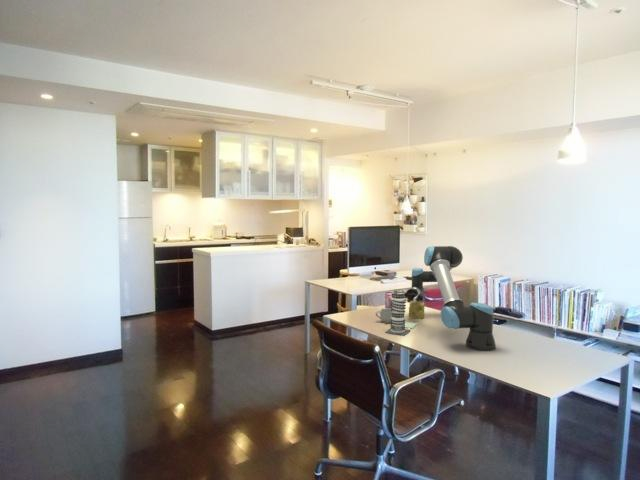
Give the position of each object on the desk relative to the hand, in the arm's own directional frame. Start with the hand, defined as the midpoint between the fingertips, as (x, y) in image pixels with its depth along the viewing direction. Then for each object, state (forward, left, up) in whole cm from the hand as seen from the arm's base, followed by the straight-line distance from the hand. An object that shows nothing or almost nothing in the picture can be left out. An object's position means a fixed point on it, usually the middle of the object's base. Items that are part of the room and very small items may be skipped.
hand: (403, 299), depth 268 cm
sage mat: (0, -6, -18) cm, 19 cm away
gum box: (+17, -29, -18) cm, 39 cm away
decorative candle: (0, +10, -18) cm, 20 cm away
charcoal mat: (0, +10, -18) cm, 21 cm away
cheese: (0, -31, -18) cm, 36 cm away
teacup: (+14, -8, -18) cm, 24 cm away
